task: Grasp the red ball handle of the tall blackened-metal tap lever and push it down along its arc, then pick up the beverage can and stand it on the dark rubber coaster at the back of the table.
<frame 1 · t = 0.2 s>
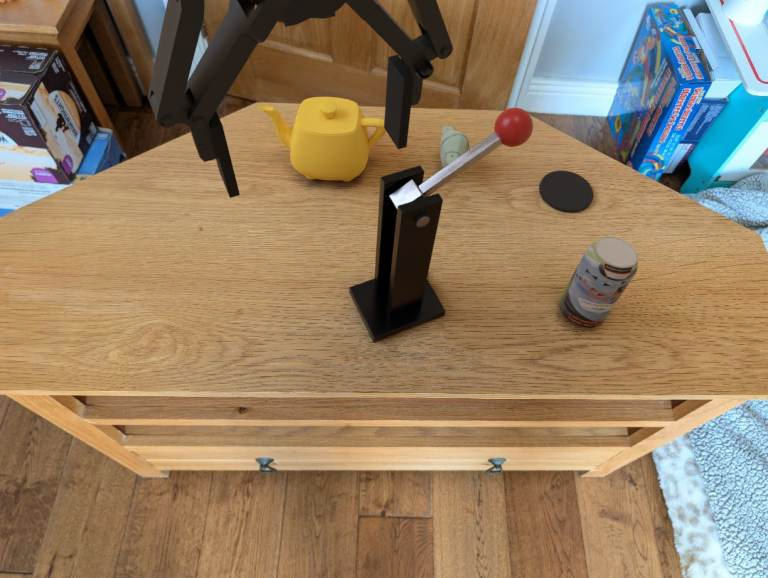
hand: (315, 160, 43), 31 cm above the tv stand, tool pointing down, fingers open, 13 cm apart
bracket: (396, 304, 72), on the tv stand
lever: (462, 163, 54), point 23 cm above the tv stand, hinge at 30.0°
beverage can: (579, 309, 73), on the tv stand
teapot: (326, 163, 85), on the tv stand
coaster: (565, 192, 84), on the tv stand
pale green rounded lump: (450, 168, 86), on the tv stand
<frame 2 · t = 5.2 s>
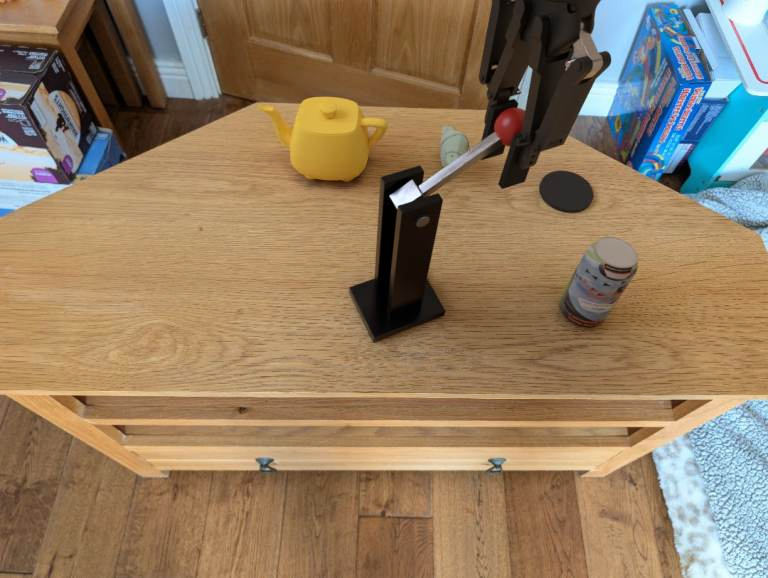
hand: (500, 168, 58), 21 cm above the tv stand, tool pointing down, fingers closed on lever, 4 cm apart
lever: (462, 163, 54), point 23 cm above the tv stand, hinge at 30.0°, touching gripper
everything else where it was.
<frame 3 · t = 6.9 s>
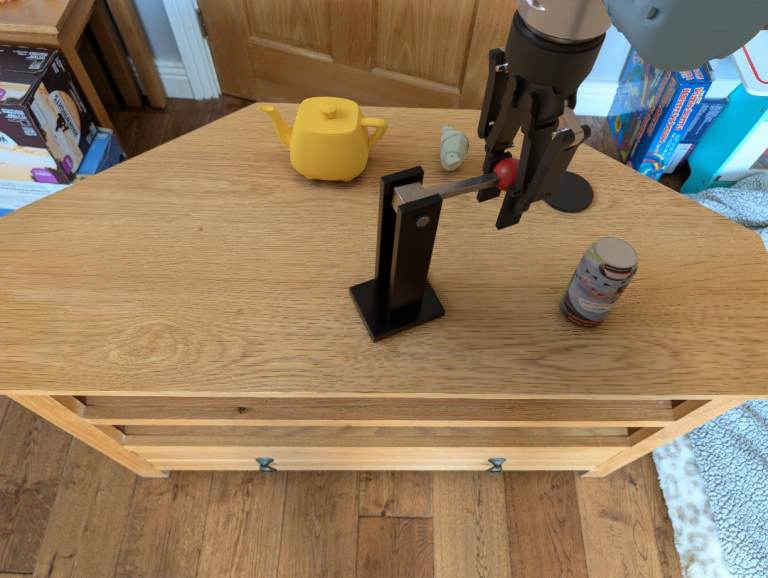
hand: (497, 210, 64), 13 cm above the tv stand, tool pointing down, fingers closed on lever, 4 cm apart
lever: (463, 186, 57), point 19 cm above the tv stand, hinge at -4.7°, touching gripper
everything else where it was.
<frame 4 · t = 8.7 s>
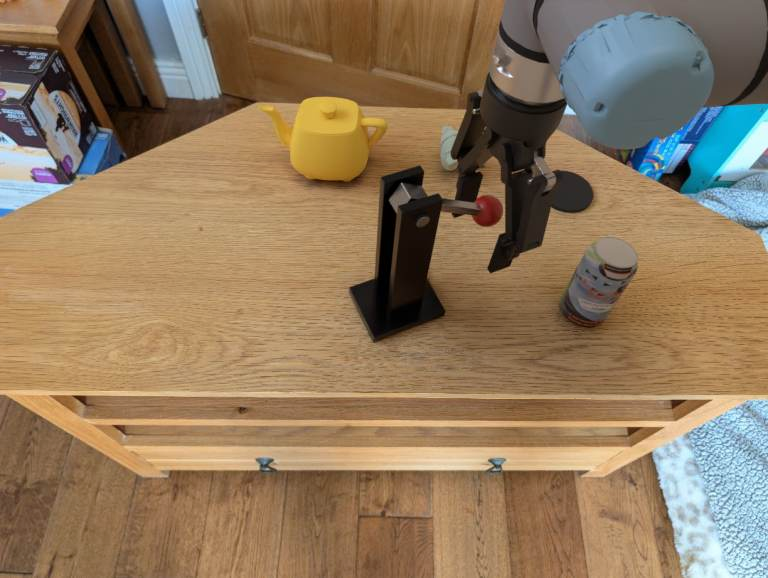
hand: (479, 239, 68), 9 cm above the tv stand, tool pointing down, fingers open, 8 cm apart
lever: (452, 206, 59), point 17 cm above the tv stand, hinge at -30.5°
everything else where it was.
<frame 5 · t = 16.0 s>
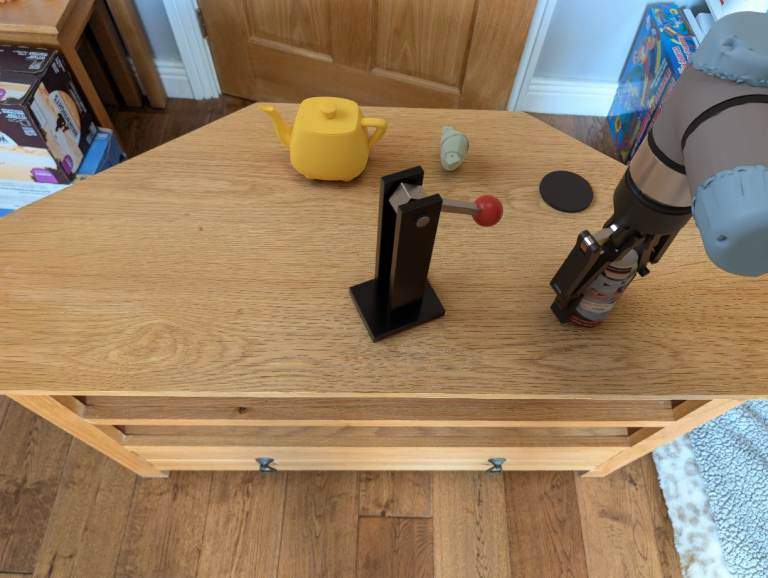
hand: (582, 305, 72), 1 cm above the tv stand, tool pointing down, fingers closed on beverage can, 7 cm apart
beverage can: (579, 309, 73), on the tv stand, touching gripper
everything else where it was.
when the fingers open (2 cm above the tv stand, at t = 24.3 s): beverage can stays where it is, resting on coaster.
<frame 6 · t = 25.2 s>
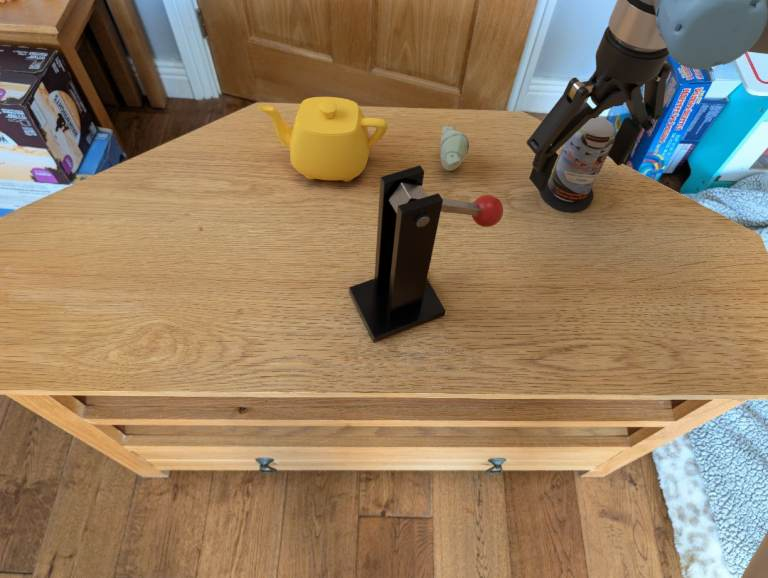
hand: (576, 171, 80), 5 cm above the tv stand, tool pointing down, fingers open, 13 cm apart
beverage can: (566, 190, 84), resting on coaster
everything else where it was.
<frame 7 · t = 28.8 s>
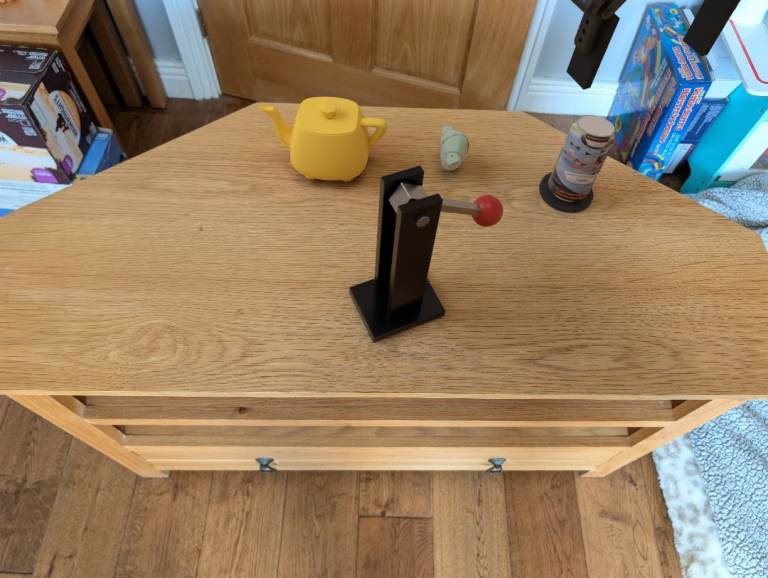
hand: (638, 63, 52), 31 cm above the tv stand, tool pointing down, fingers open, 13 cm apart
nothing on the tv stand moved.
at the end: lever at -30° (first picture: +30°); beverage can 0.0 cm off-centre on the coaster, point 0.4 cm above the coaster's base; beverage can tilted 0° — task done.
